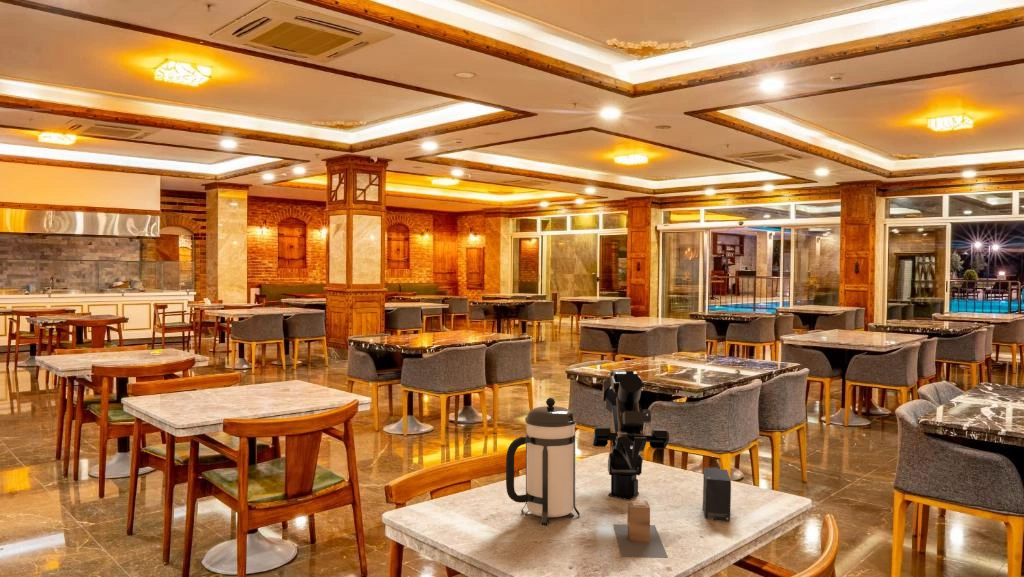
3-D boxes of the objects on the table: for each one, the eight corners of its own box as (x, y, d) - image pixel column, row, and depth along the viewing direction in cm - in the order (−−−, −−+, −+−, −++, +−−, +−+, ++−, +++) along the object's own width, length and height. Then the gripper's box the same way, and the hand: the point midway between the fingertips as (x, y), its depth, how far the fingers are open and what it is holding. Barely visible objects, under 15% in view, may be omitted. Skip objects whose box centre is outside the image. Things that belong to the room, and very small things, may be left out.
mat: (613, 526, 172) (613, 524, 172) (654, 527, 171) (654, 525, 171) (621, 558, 152) (621, 556, 152) (668, 560, 152) (668, 557, 152)
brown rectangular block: (626, 534, 165) (626, 499, 165) (647, 534, 165) (647, 500, 165) (628, 542, 161) (629, 506, 160) (649, 542, 160) (650, 506, 160)
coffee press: (527, 503, 189) (527, 391, 188) (586, 510, 184) (586, 394, 183) (505, 525, 173) (505, 402, 172) (568, 533, 167) (569, 406, 167)
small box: (731, 522, 175) (732, 480, 175) (704, 520, 176) (704, 478, 176) (727, 508, 185) (728, 468, 185) (701, 506, 187) (702, 467, 186)
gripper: (595, 395, 179) (598, 451, 169) (669, 398, 179) (677, 454, 169) (591, 418, 188) (593, 472, 177) (661, 420, 188) (668, 475, 177)
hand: (633, 468), depth 175 cm, fingers closed
